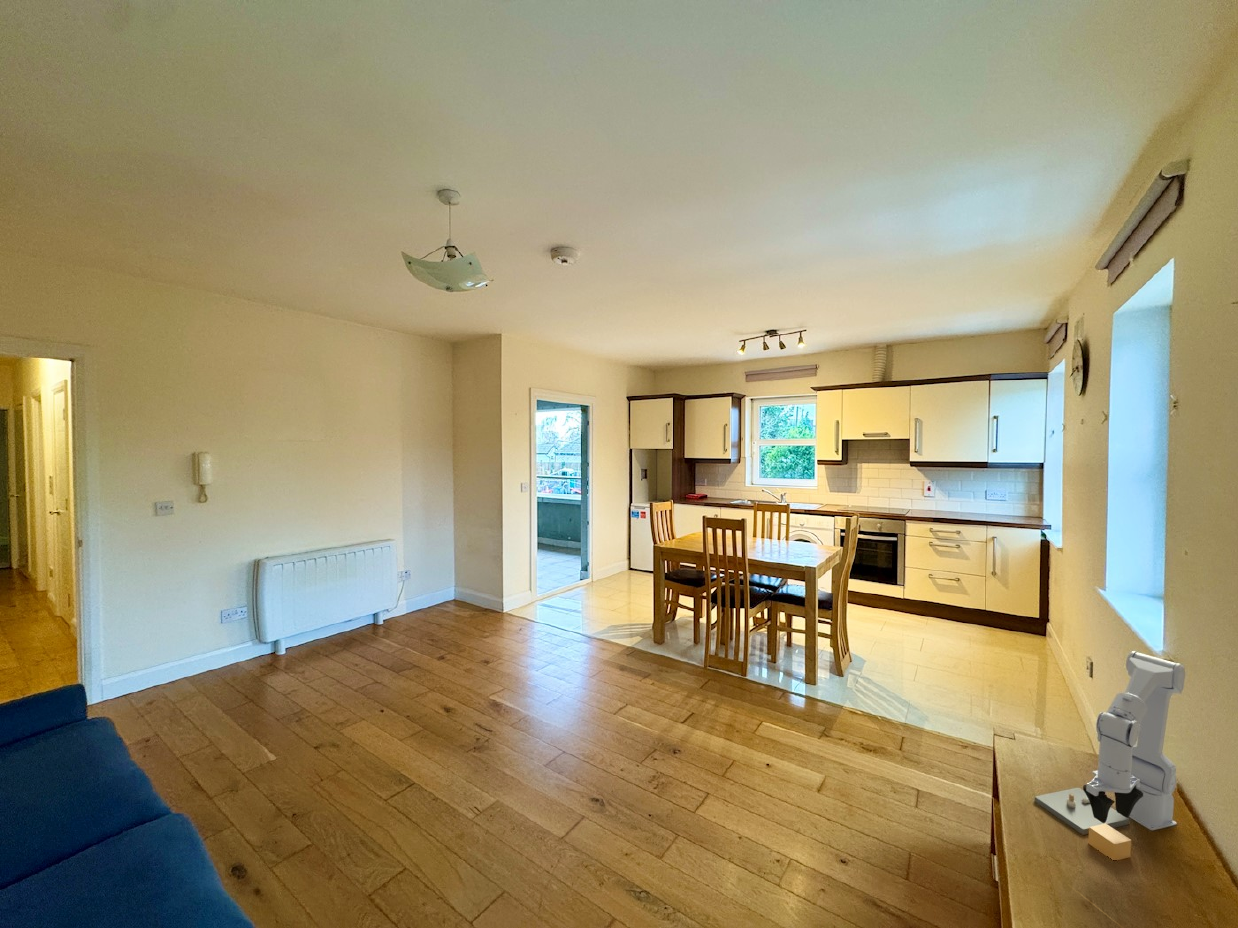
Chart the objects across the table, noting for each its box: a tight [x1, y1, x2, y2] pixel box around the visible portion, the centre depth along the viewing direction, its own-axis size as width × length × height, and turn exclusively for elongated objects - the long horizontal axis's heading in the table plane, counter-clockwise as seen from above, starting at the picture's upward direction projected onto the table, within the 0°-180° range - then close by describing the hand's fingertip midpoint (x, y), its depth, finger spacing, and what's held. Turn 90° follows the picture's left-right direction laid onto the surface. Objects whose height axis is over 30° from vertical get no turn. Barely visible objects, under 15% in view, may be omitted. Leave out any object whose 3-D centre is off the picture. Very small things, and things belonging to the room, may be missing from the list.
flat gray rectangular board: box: [1034, 787, 1130, 836], centre depth 136 cm, size 16×12×4 cm
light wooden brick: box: [1087, 823, 1132, 861], centre depth 124 cm, size 5×5×4 cm
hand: (1111, 817), depth 123 cm, fingers open, 7 cm apart
